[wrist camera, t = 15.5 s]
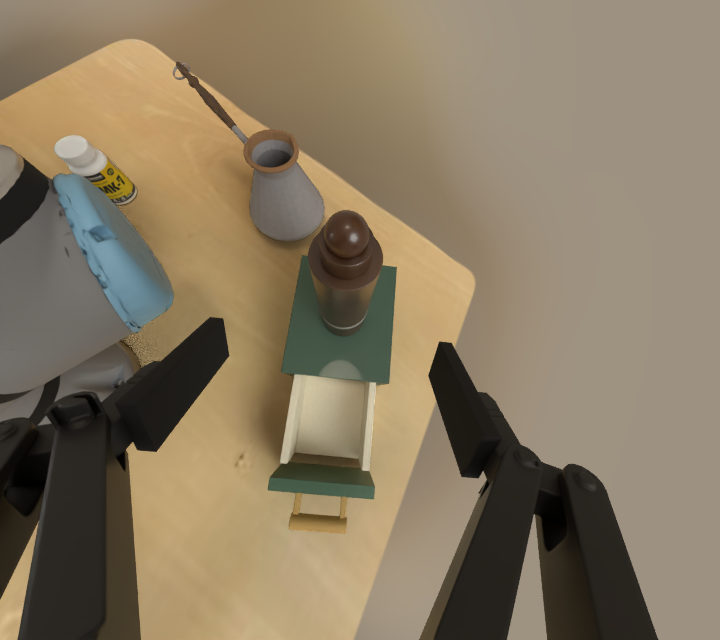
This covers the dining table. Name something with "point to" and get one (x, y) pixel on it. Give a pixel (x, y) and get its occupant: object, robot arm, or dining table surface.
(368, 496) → the drawer
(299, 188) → the coffee pot
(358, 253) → the pepper mill
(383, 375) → the cabinet
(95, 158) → the supplement bottle
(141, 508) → the dining table surface
